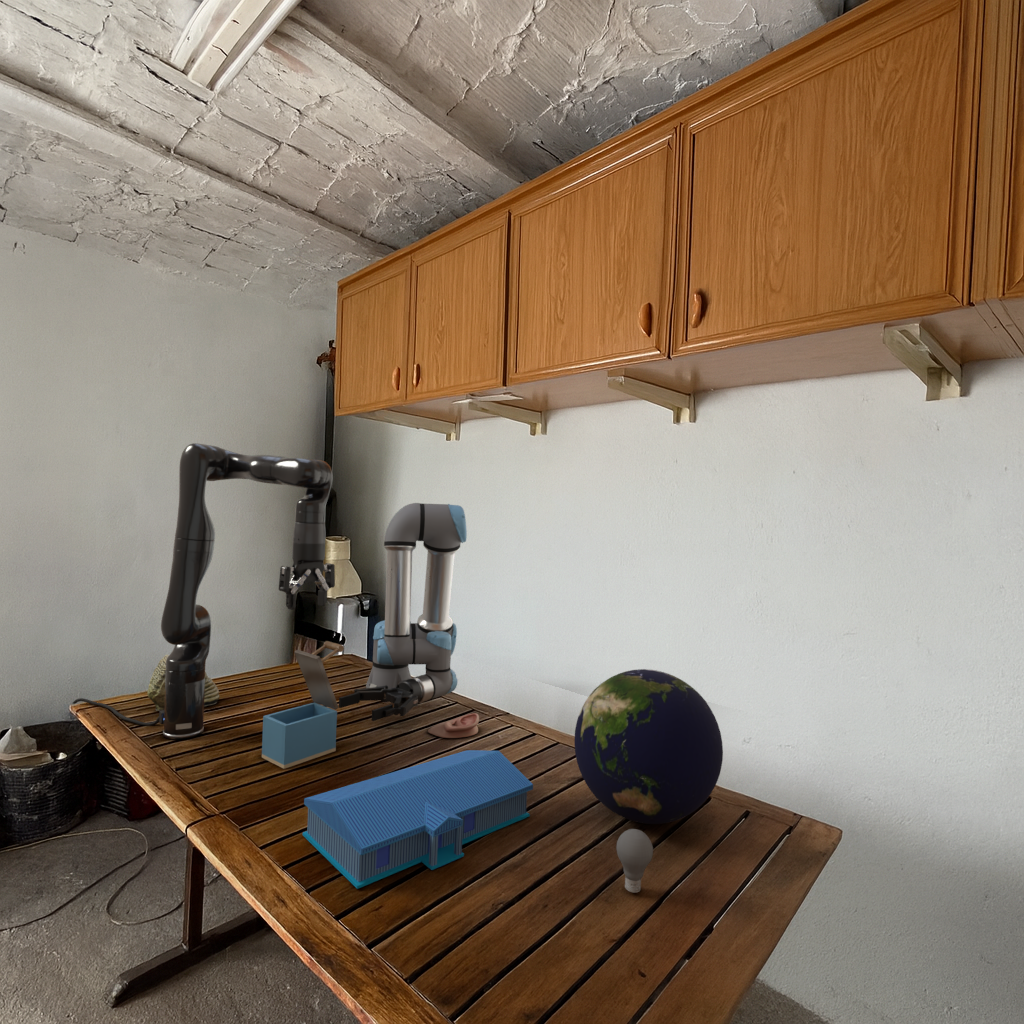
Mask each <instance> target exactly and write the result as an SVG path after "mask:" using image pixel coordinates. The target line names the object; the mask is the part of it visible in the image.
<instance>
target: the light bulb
mask: <svg viewBox="0 0 1024 1024" xmlns="http://www.w3.org/2000/svg"><path fill="white" fill-rule="evenodd" d="M615 849H616V854H617V857H618V859H619V861H620V863H621V865H622V867H623V873H624V874H623V875H624V876H625V878H624V888H625V890H627V891H628V892H630V893H634V894H635V893H639V892H640V891H641V889H642V887H641V886H642V879H643V877H644V875H645V871H646V868H647V867H648V866H649V864H650V863H651V861H652V859H653V855H654V847H653V843H652V841H651V838H649V836H648V835H647V834H646V833H645V832H643V831H642V830H641V829H636V828H629V829H627V830H625V831H623V832H622V833H621V834H620V835H619V837H618V839H617V841H616V847H615Z"/></svg>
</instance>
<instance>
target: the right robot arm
mask: <svg viewBox="0 0 1024 1024" xmlns="http://www.w3.org/2000/svg"><path fill="white" fill-rule="evenodd" d="M466 519H467V518H466V513H465V510H464V507H462V506H461V505H459V504H450V503H445V504H444V503H420V502H413V503H409V504H406V505H404V506H403V507H401V508H400V509H399V510H398V511H397V512H396V513H395V514H394V515H393V516H392V518H391V519H390V521H389V523H388V525H387V528H386V529H385V533H384V539H383V548H384V549H385V550H386V551H387V552H386V573H385V574H386V576H385V577H386V578H385V603H384V606H385V607H384V620H381V621H379V622H377V623H376V624H375V626H374V629H373V636H372V639H373V650H372V668H371V670H370V673H369V676H368V679H367V681H366V685H365V687H363V688H362V687H361V688H355V689H354V691H353V693H350V694H347V695H344V696H340V697H338V707H339V708H338V709H342V708H346V707H349V706H353V705H356V704H359V703H360V702H366V701H367V702H368V701H369V702H371V701H372V702H373V701H375V702H376V701H380V702H381V703H390V704H387V705H384V706H381V707H378V708H375V709H372V710H371V721H372V722H376V721H378V720H383V719H385V718H387V717H390V716H400V717H405V716H406V715H407V714H408V713H409V712H410V711H411V710H412V709H413V708H415V707H417V706H418V705H419V704H423V703H425V702H427V701H430V700H433V699H436V698H439V697H440V698H441V697H445V696H446V695H448V694H451V693H452V692H454V691H455V690H456V689H457V686H458V677H457V673H456V672H455V671H454V670H453V669H452V668H451V661H452V659H451V658H452V655H453V654H454V652H455V648H456V643H457V635H458V628H457V624H456V623H454V621H453V618H452V617H451V616H450V607H451V597H452V587H453V576H454V567H455V565H454V564H455V554H456V552H458V551H459V550H460V549H461V544H463V543H465V542H467V539H468V538H467V537H468V533H467V520H466ZM417 542H422V543H423V544H422V545H423V548H424V549H426V551H427V556H426V566H425V567H426V568H425V581H424V592H423V606H422V613H421V614H420V615H419V616H418V618H417V622H415V623H414V622H412V621H411V607H412V605H411V604H412V579H413V578H412V577H413V576H412V575H413V574H412V573H413V552H414V550H415V549H417ZM409 665H425V669H424V670H425V674H421V675H417V676H414V677H412V675H411V672H410V669H409Z"/></svg>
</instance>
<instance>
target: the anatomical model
mask: <svg viewBox="0 0 1024 1024" xmlns="http://www.w3.org/2000/svg"><path fill="white" fill-rule="evenodd" d="M479 722H480V716H479V714H478V713H476V712H474V713H469V714H465V715H462V716H459V717H456V718H453V719H451V720H447V721H443V722H440V723H437V724H435V725H433V726H432V727H430V728H428V730H427V733H428V734H430V735H432V736H436V737H438V738H444V739H458V738H459V739H460V738H466V737H467V738H468V737H471V736H474V735H476V734H478V732H479V727H478V726H477V725H478V724H479Z"/></svg>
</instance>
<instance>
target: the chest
mask: <svg viewBox="0 0 1024 1024" xmlns="http://www.w3.org/2000/svg"><path fill="white" fill-rule="evenodd" d="M337 723H338V710H337V709H336V710H335V709H332V708H329V707H327V706H324V705H322V704H319V703H316V702H314V701H313V702H310V703H307V704H303V705H299V706H296V707H292V708H288V709H285V710H280V711H277V712H273V713H269V714H266V715H263V716H262V741H261V759H264V760H265V761H268V762H270V763H272V764H273V765H276V766H277V767H279V768H281V769H283V770H286V769H288V768H292V767H294V766H296V765H300V764H302V763H305V762H309V761H311V760H314V759H316V758H320V757H323V756H325V755H329V754H331V753H334V752H337Z"/></svg>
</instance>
